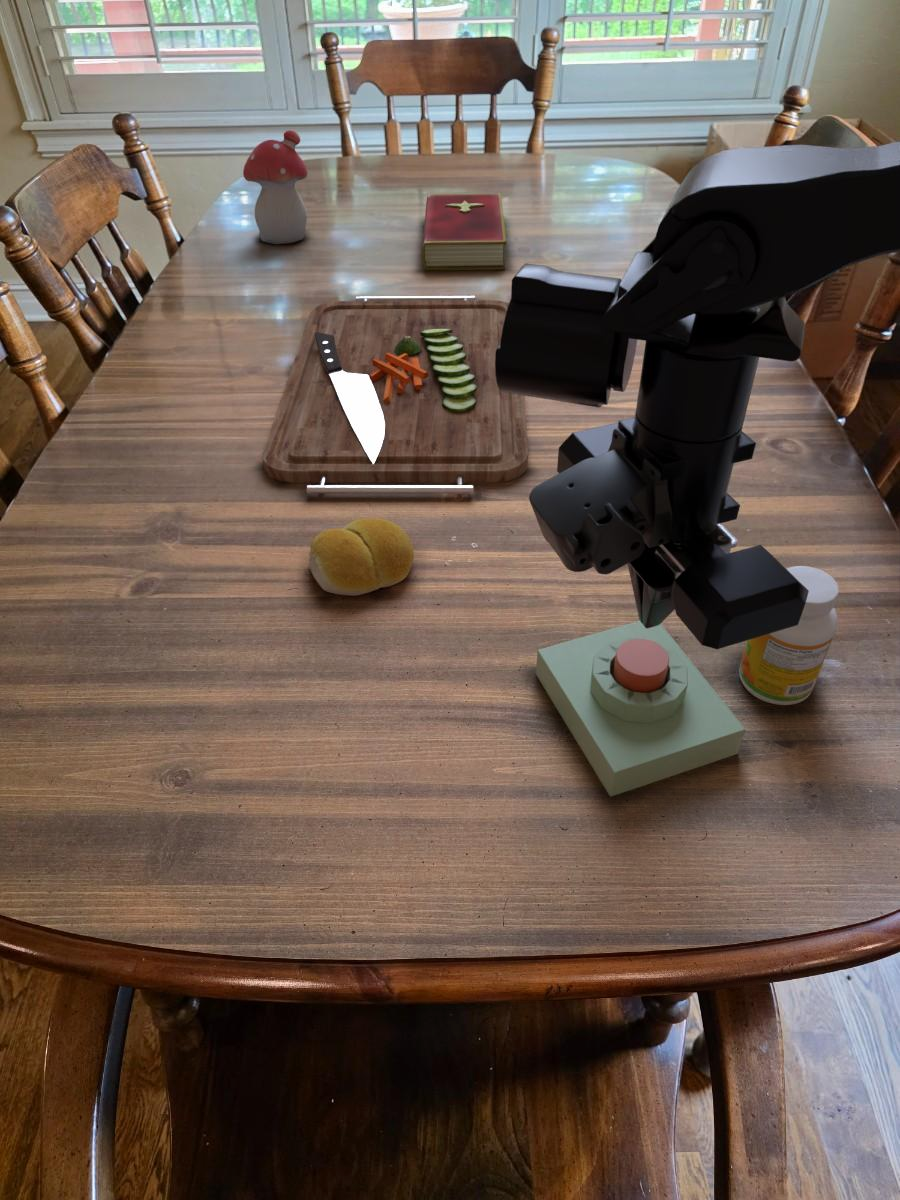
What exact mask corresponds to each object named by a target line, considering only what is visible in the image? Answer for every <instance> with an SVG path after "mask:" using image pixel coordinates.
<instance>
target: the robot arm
mask: <svg viewBox="0 0 900 1200" xmlns="http://www.w3.org/2000/svg"><path fill="white" fill-rule="evenodd" d="M656 230H657V231H656V233H655V237H654V238H653V239H651V241H650V242H649V243H648V244H647V245H646V246H645V247H644V248H643V249H642V250H641V251H637V252H635V254H634V256H633V258H632V260H631V262H630V264H629V265H628V268H627V269H626V271H625V273H624V274H623V277H622V278H619V277H611V276H603V275H602V276H601V275H594V274H585V273H578V272H569V271H562V270H558V269H556V268H553V267H550V266H549V265H542V264H534V263H528V262H527V263H524V264H523V265H521V267H520V268H519V269H518V271H517V272H516V274H515V275H514V276H513V278H512V279H511V289H510V290H511V292H510V300H509V302H508V303H509V306H508V309H507V312H506V316H505V320H504V324H503V330H502V335H501V342H500V344H499V346H498V347H497V349H496V354H495V375H496V382H497V386H498V388H499V390H500V391H501V392H505V393H512V394H518V395H524V397H531V398H537V399H544V400H549V401H555V402H556V401H557V402H562V403H568V404H574V405H575V404H576V405H582V406H586V407H592V408H593V407H594V408H602V406H603V405H605V406H608V403H609V402H610V401H609V400H610V397H611V392H612V391H611V390H612V389H613V391H614V392H621V393H624V392H626V389H627V387H628V384H629V381H630V379H631V374H632V371H633V366H634V362H635V356H636V351H637V344H638V341H644V342H645V344H644V352H643V358H642V365H641V371H640V379H639V387H638V393H637V401H636V406H635V408H636V409H635V412H634V413H635V414H634V417H629V418H624V419H621V420H618V422H614V423H610V424H607V425H606V424H605V425H601V426H597V427H592V428H587V429H583V430H577V431H574V432H572V433H571V434H570V435H568V437H567V438H566V439H565V440H564V441H563V442H562V443H561V445H560V446H559V447H558V453H557V465H556V472H557V474H555V475H553V476H552V477H550V478H549V479H547V480H544V481H543V482H541V483H539V484H537V485H536V486H535V487H534V488H532V490H531V491H530V493H529V496H528V500H529V503H530V506H531V508H532V511H533V513H534V516H535V518H536V520H537V524H538V526H539V528H540V531H541V534H542V537H543V538H544V540H545V541H546V542H547V543H548V544H549V546H550V547H551V549H552V550H553V551H554V553H556V555H557V557H558V558H559V559H560V561H561V563H562V564H563V566H564V567H565V568H566V569H567V570H568V571H570V572H572V573H573V572H574V573H582V572H586V571H588V570H590V569H592V568H593V569H595V571H596V572H597V573H598V574H600V575H610V574H611V573H614V572H615V571H617V570H619V569H620V568H623V567H624V566H626V565H627V568H628V569H627V570H628V573H629V578H630V583H631V587H632V592H633V596H634V601H635V606H636V610H637V616H638V621H640V622H641V623H642V624H643V625H644V627H645V628H651V627H655V626H658V625H660V624H663V622H664V621H665V620H666V619H667V618H668V617H669V616H670V615H671V614H672V613H673V612H674V611H675V615H676V616H677V617H678V619H680V621H681V622H682V623H683V625H684V626H685V627H686V629H688V631H690V633H691V634H692V635H693V637H694V638H695V639H696V640H697V642H698V643H700V645H701V646H704V647H707V648H709V649H710V648H711V649H714V650H720V649H723V648H727V647H730V646H733V645H737V644H740V643H743V642H747V641H748V640H750V639H753V638H757V637H760V636H763V635H767V634H770V633H773V632H777V631H780V630H783V629H786V628H790V627H793V626H796V625H798V623H799V621H800V618H801V615H802V612H803V609H804V606H805V603H806V600H807V596H808V592H809V590H808V589H807V588H805V587H804V586H803V585H802V584H801V583H800V582H799V581H798V580H797V579H796V578H795V577H794V576H793V575H792V574H791V573H790V572H789V571H788V570H787V568H786V567H785V566H784V565H783V564H782V563H781V562H780V561H779V560H778V559H777V558H776V557H775V556H773V554H772V553H771V552H769V550H767V549H766V548H765V547H764V546H763V545H762V544H758V545H755V546H751V547H746V548H743V549H740V550H736V551H733V552H731V550H732V549H734V548H736V547H737V545H738V539H737V538H736V537H735V536H734V535H733V534H732V533H731V531H729V530H728V529H727V528H726V527H725V526H724V525H723V524H724V523H728V522H731V521H736V520H737V519H738V515H739V512H740V508H741V504H740V503H738V501H737V500H735V498H734V497H732V495H730V494H729V493H728V490H729V485H730V481H731V477H732V472H733V469H734V464H736V463H741V462H745V461H749V460H752V459H753V457H754V454H755V453H754V452H755V449H756V446H757V442H756V441H754V440H753V439H752V438H751V437H750V436H748V435H747V434H746V433H745V432H744V431H743V427H744V423H745V419H746V415H747V410H748V406H749V401H750V397H751V394H752V389H753V385H754V381H755V377H756V372H757V368H758V365H759V360H760V358H761V359H768V360H769V359H770V360H777V361H782V362H783V361H784V362H796V361H798V360H799V359H800V358H801V356H802V352H803V346H804V345H803V344H804V336H805V331H806V330H805V329H806V323H805V321H804V319H802V318H801V317H800V316H799V315H798V314H797V312H795V310H794V309H792V308H791V306H790V305H789V303H788V302H787V300H786V297H789V296H791V295H794V294H797V293H800V292H802V291H805V290H806V289H809V288H811V287H812V286H813V285H816V284H817V283H819V282H821V281H823V280H825V279H827V278H829V277H830V276H832V275H834V274H836V273H838V272H841V271H842V270H843V269H846V268H847V267H850V266H852V265H856V264H858V263H861V262H864V261H867V260H871V259H873V258H876V257H879V256H883V255H888V254H894V253H899V252H900V140H898V141H893V142H889V143H885V144H882V145H875V146H861V147H836V146H823V145H810V144H786V145H785V144H784V145H771V146H770V145H769V146H757V147H741V148H731V149H725V150H721V151H719V152H717V153H714V154H712V155H709V156H707V157H705V158H703V159H702V160H701V161H699V162H698V163H697V164H695V165H694V166H693V167H692V169H691V170H690V171H689V172H688V173H687V174H686V175H685V177H684V178H683V181H682V182H681V183H680V185H679V186H678V188H677V190H676V191H675V193H674V195H673V197H672V199H671V200H670V203H669V205H668V207H667V209H666V211H665V212H664V214H663V217H661V220H660V222H659V224H658V228H657V229H656Z"/></svg>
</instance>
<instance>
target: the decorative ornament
mask: <svg viewBox="0 0 900 1200" xmlns="http://www.w3.org/2000/svg"><path fill="white" fill-rule="evenodd" d="M300 143H301V137H300V135H299V133H297V132H296V131H295V130H289V129H288V130H286V131H285V132H284V133H283V140H280V141H279V140H275V139H268V140H264V141H262V142H260V143H259V144H257V145H256V146H255V147H254V148H253V150H252V151H251V153H250V154H249V156H248V158H247V159H246V162H245V164H244V166H243V171H242V176H243V178H244V179H245V181H247V182H252V183H257V184H258V185H260V186H261V188H260V192H259V195H258V196H257V199H256V200H255V201H256V202H255V204H254V205H255V206H254V220H255V223H256V226H257V229H258V230H259V234H258V237H259V240H261V242H264V243H269V244H274V245H282V244H283V245H284V244H293V243H296V242H299V241H302V240H303V239H304V238H305V233H306V228H307V222H308V213H307V210H306V205H305V203H304V201H303V199H302V197H301V195H300V194H299V192H298V191H297V189H296V188H295V186H296V183H297V182H298V181H302V180H306V178H307V177H308V169H307V166H306V163H305V162H304V161H303V159H302V158H301V156H300V155H299V154H298V152H297V151H296V147H297V146H298V145H299V144H300Z"/></svg>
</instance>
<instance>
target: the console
mask: <svg viewBox="0 0 900 1200" xmlns="http://www.w3.org/2000/svg"><path fill="white" fill-rule="evenodd" d="M632 639H646V640H650V641H653V642H655V643H657V644H659V645H660V646H662V647H663V648H664V649H665V651H666V652H667V654H668V656H669V665H668V670H667V674H666V679H665V682H664V684H663V685H662V686H661V687H660V688H659V689H658V690H656V691H653V692H650V693H639V692H632V691H630V690H628V689H626V688H624V687H622V686H621V685H620V684H619V683H618V682H617V681H616V679H615V677H614V673H613V670H614V664H615V657H616V652H617V649H618V647H619V646H620V645H621V644H622V643H624V642H626V641H628V640H632ZM536 654H537V655H536V666H535V667H536V668H535V675H536V677H537V679H538V680H539V682H540V684H541V685H542V687H543V688H544V690H545V692H546V694H547V695H548V697H549V698H550V700H551V702H552V703H553V705H554V707H555V708H556V710H557V711H558V714H559V715H560V716H561V718H562V720H563V722H564V724H565V725H566V726H567V728H568V730H569V731H570V733H571V735H572V736H573V738H574V740H575V742H576V743H577V744H578V746H579V748H580V750H581V751H582V753H583V755H584V756H585V758H586V759H587V761H588V763H589V764H590V766H591V767H592V769H593V771H594V773H595V774H596V776H597V777H598V779H599V781H600V783H601V785H602V786H603V787H604V789H605V791H606V792H607V794H608V796H609V797H611V798H612V797H614V796H618V795H621V794H623V793H626V792H628V791H632V790H635V789H638V788H641V787H643V786H647V785H649V784H652V783H656V782H659V781H662V780H664V779H668V778H670V777H673V776H676V775H679V774H682V773H685V772H688V771H691V770H695V769H697V768H701V767H703V766H706V765H709V764H712V763H715V762H718V761H720V760H721V761H722V760H724V759H726V758H730V757H732V756H735V755H738V754H739V751H740V748H741V745H742V742H743V739H744V737H745V736H744V735H745V733H746V727H744V725H743V724H742V723H741V722H740V720H739V719H738V718H737V717H736V715H735V714H734V713H733V711H732V710H731V709H730V708H729V706H728V705H727V704H726V703H725V701H723V699H722V698H721V697H720V695H719V694H718V693H717V691H715V689H714V688H713V687H712V685H711V684H710V683H709V682H708V680H707V679H706V678H705V677H704V675H703V674H702V673H701V672H700V671H699V668H697V667H696V666H695V664H694V663H693V662H692V660H691V659H690V658H689V656H688V655H686V653H685V651H683V649H682V648H681V647H680V645H679V644H678V643H677V641H675V639H674V638H673V637H672V635H671V634H670V633H669V632H668V631H667V629H666V628H665V627H664V626H663V623H661V624H660V625H658V626H655V627H651V628H645V627H644V625H643V624H642V623H641V622H640V620H638V621H633V622H631V623H628V624H624V625H620V626H616V627H613V628H609V629H606V630H603V631H599V632H595V633H591V634H588V635H585V636H581V637H577V638H574V639H570V640H567V641H564V642H561V643H557V644H553V645H550V646H546V647H543V648H539V649H537V652H536Z"/></svg>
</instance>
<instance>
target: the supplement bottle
mask: <svg viewBox="0 0 900 1200" xmlns="http://www.w3.org/2000/svg"><path fill="white" fill-rule="evenodd" d="M786 569H787V570H788V571H789V572H790V573H791V574H792V575H793V576H794V577H795V578H796V579H797V580H798V581H799V582H800V583H801V584H802V585H803V586H804V587H805V588H807V589H808V590H809V592H808V596H807V600H806V603H805V606H804V609H803V612H802V615H801V618H800V621H799V623H798V625H796V626H793V627H790V628H786V629H783V630H780V631H777V632H773V633H770V634H767V635H763V636H760V637H757V638H753V639H750V640H747V641H746V644H745V648H744V651H743V654H742V658H741V660H740V665H739V670H738V672H739V678H740V681H741V683H742V685H743V686H744V688H745V689H746V690H747V692H749V694H751V695H752V696H754V697H755V698H757V699H759V700H761V701H763V702H765V703H768V704H772V705H776V706H790V705H796V704H799V703H801V702H803V701H805V700H807V698H808V697H809V696H810V695H811V694H812V692H813V690H814V687H815V685H816V682H817V680H818V677H819V675H820V672H821V670H822V668H823V664H824V662H825V659H826V656H827V654H828V651H829V650H830V647H831V644H832V642H833V639H834V637H835V634H836V631H837V629H838V623H839V622H838V621H839V620H838V614H837V611H836V609H835V608H834V607H835V605H836V603H837V599H838V596H839V594H840V593H839V591H840V588H839V585H838V583H837V581H836V580H835V579H834V578H833V577H832V576H831V575H830V574H828V573H827V572H825V571H823V570H821V569H820V568H816V567H812V566H807V565H795V566H794V565H793V566H790V567H787V568H786Z"/></svg>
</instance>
